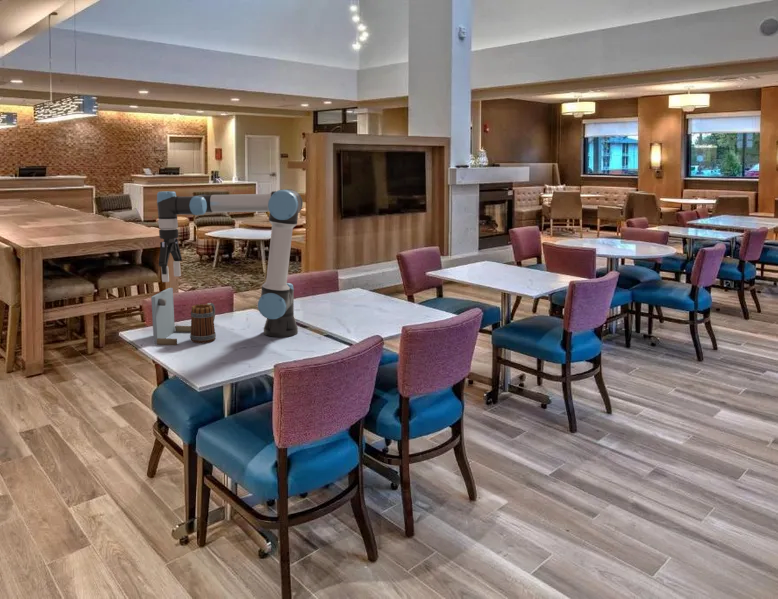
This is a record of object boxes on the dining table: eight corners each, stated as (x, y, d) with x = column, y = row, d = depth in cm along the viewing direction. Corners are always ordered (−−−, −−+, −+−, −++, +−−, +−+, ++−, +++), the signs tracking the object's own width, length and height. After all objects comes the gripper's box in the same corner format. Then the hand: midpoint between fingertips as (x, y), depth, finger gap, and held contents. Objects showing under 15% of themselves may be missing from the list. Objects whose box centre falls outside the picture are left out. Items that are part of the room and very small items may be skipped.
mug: (208, 344, 263) (207, 309, 260) (185, 342, 265) (184, 307, 262) (225, 335, 278) (224, 302, 275) (203, 333, 280) (202, 300, 277)
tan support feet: (193, 331, 282) (193, 326, 282) (176, 345, 260) (175, 339, 260) (176, 330, 282) (175, 325, 282) (157, 344, 260) (156, 338, 260)
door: (180, 331, 281) (178, 287, 277) (163, 344, 262) (160, 297, 257) (171, 331, 281) (169, 287, 277) (153, 343, 262) (151, 296, 258)
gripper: (170, 226, 274) (173, 273, 278) (147, 231, 249) (151, 284, 254) (187, 226, 273) (190, 274, 278) (166, 231, 249) (169, 284, 253)
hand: (171, 279), depth 266 cm, fingers open, 13 cm apart
